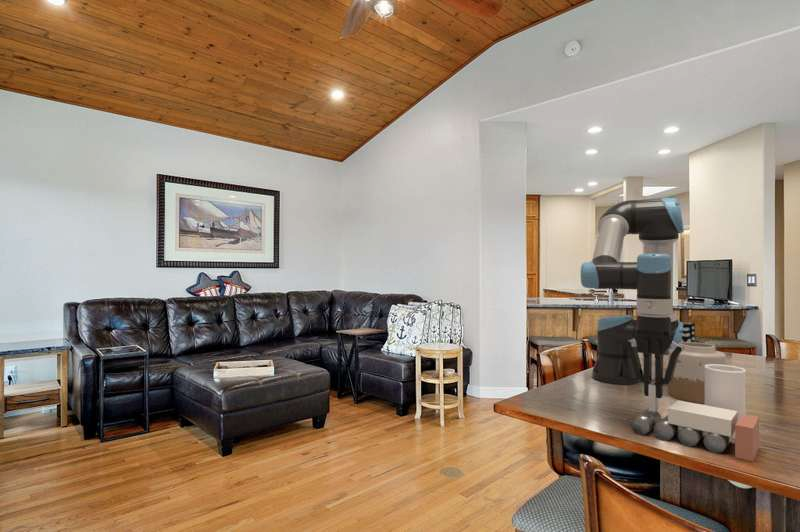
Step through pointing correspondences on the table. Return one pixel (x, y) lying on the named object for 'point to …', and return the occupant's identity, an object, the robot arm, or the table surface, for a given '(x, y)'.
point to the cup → (726, 388)
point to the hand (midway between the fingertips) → (653, 409)
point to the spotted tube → (688, 332)
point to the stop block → (747, 437)
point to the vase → (693, 371)
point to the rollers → (685, 435)
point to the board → (703, 417)
